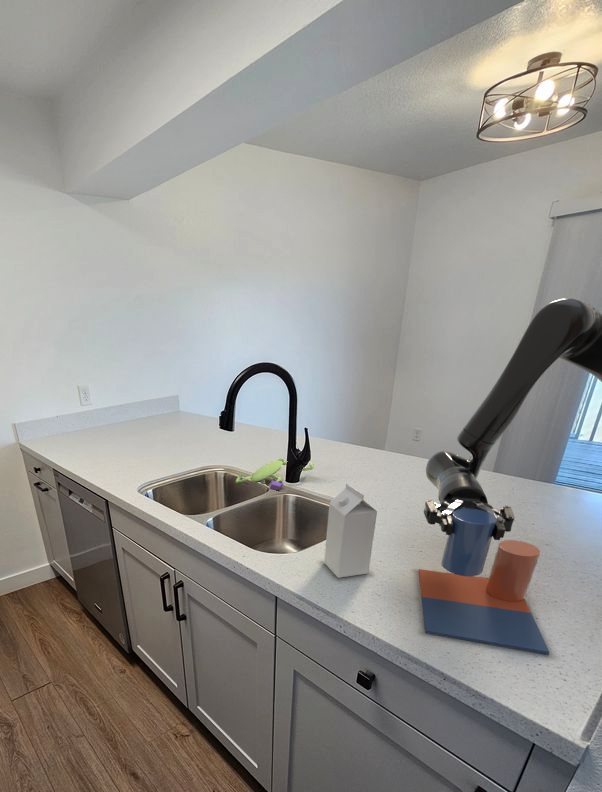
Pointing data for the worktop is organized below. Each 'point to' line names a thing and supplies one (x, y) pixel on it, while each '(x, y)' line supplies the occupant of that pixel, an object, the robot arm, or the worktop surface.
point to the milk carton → (349, 534)
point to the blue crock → (468, 542)
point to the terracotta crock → (512, 570)
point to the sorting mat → (476, 613)
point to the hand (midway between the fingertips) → (474, 532)
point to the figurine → (269, 474)
